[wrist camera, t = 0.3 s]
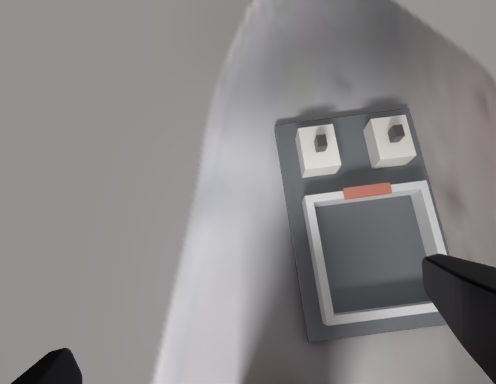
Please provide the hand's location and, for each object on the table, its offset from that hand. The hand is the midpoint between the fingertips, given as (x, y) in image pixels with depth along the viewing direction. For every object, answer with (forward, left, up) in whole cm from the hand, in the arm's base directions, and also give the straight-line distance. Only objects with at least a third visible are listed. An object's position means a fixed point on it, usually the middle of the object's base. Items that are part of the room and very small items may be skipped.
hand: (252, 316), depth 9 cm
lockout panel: (-1, -9, -15) cm, 18 cm away
